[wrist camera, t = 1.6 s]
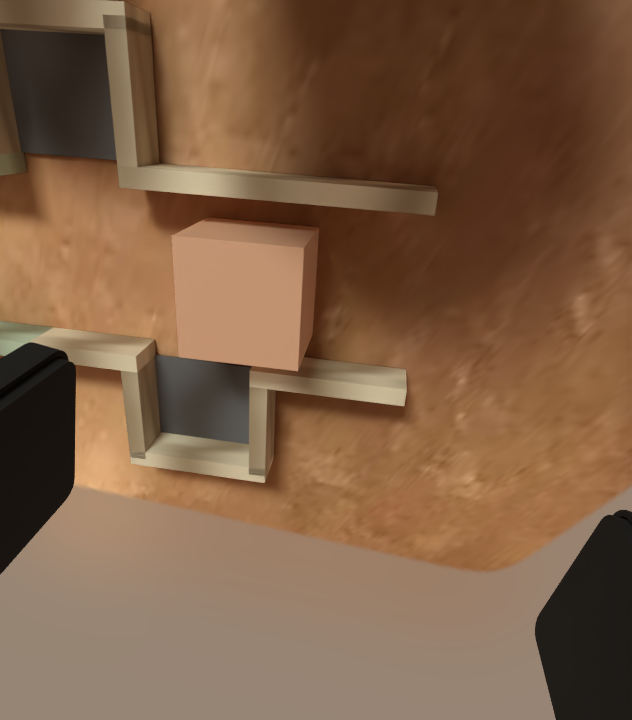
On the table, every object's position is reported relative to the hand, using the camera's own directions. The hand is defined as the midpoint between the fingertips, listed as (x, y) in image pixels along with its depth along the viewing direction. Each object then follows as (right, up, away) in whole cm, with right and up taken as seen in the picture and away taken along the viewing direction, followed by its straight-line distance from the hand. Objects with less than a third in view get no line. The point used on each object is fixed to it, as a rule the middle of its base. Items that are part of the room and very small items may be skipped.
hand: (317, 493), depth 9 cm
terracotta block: (-3, +7, +19) cm, 21 cm away
